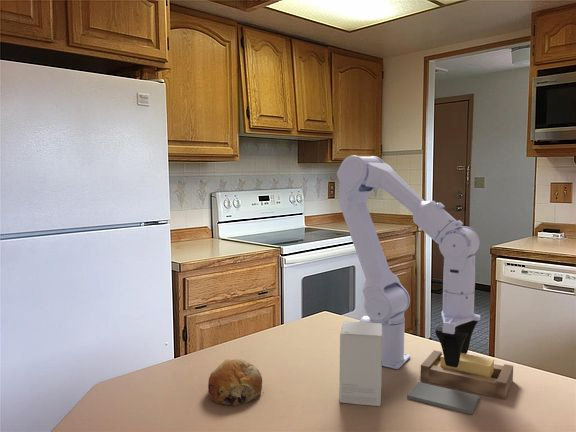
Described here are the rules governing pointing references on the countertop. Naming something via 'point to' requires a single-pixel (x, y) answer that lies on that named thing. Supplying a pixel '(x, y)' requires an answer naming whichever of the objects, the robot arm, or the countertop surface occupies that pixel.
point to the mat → (444, 397)
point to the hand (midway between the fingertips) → (456, 359)
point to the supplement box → (360, 363)
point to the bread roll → (234, 382)
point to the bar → (472, 365)
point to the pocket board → (468, 377)
